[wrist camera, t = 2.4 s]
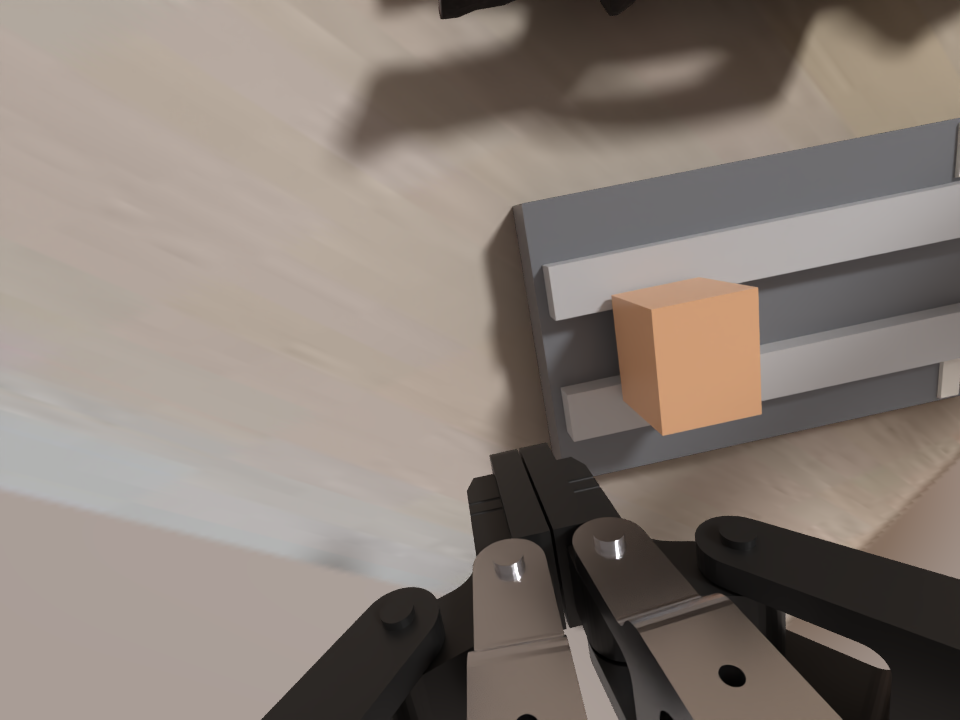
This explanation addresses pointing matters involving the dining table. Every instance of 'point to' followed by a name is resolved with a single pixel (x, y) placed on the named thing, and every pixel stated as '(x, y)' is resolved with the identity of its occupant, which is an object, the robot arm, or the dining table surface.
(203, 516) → the dining table surface
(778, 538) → the robot arm
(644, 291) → the block
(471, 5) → the figurine
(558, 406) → the twin slider track
